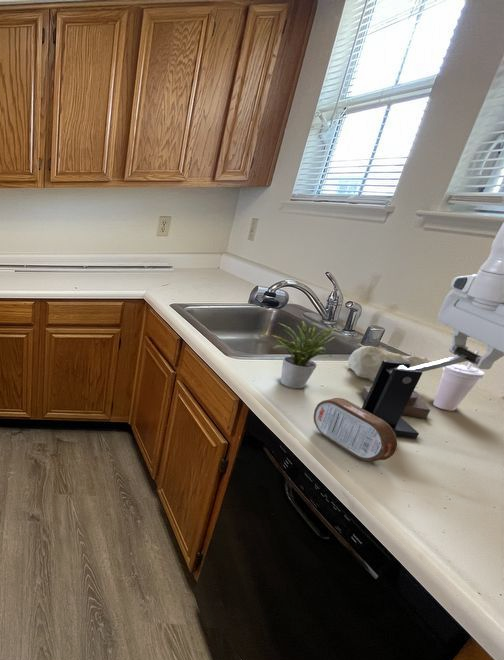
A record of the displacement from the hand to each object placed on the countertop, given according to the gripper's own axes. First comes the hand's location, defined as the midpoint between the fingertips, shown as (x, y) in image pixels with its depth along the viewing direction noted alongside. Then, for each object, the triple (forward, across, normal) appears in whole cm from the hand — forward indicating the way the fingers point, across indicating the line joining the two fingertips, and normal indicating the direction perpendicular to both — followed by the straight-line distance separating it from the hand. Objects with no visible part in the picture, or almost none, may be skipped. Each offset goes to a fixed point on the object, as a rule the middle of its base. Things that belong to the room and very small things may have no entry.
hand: (467, 360), depth 80 cm
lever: (+3, 0, +5) cm, 5 cm away
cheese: (+16, +27, -4) cm, 32 cm away
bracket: (+16, 0, +10) cm, 19 cm away
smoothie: (+16, +14, -10) cm, 24 cm away
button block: (+16, +11, +2) cm, 20 cm away
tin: (+16, -11, +20) cm, 28 cm away
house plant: (+16, +18, +20) cm, 31 cm away
